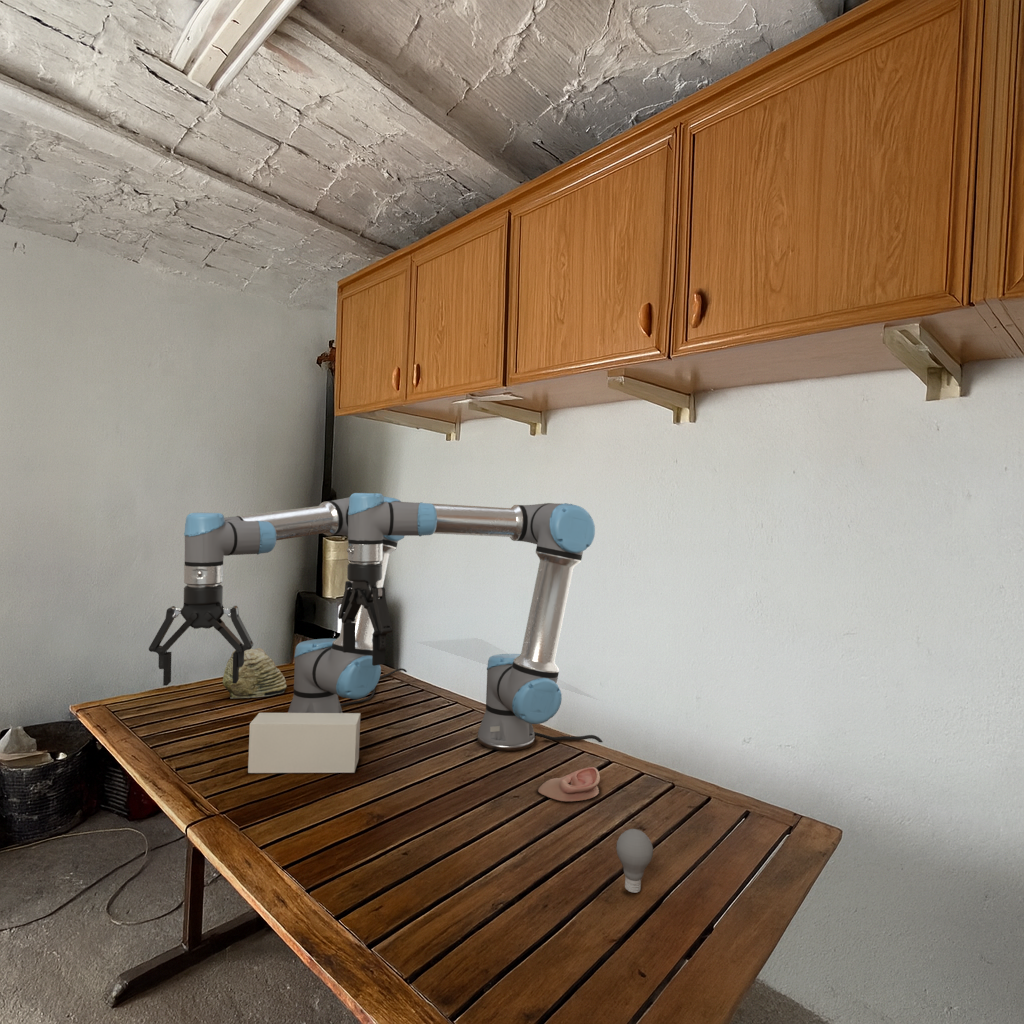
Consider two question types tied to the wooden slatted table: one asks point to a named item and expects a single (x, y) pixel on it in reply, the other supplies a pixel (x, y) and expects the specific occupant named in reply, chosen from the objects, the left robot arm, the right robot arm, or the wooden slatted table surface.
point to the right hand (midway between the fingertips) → (363, 657)
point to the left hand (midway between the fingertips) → (201, 682)
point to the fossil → (254, 676)
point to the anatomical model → (573, 786)
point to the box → (304, 743)
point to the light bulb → (634, 857)
